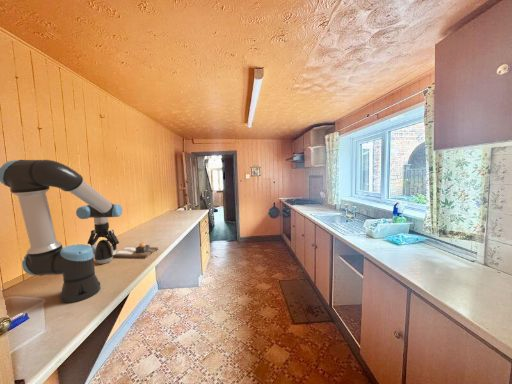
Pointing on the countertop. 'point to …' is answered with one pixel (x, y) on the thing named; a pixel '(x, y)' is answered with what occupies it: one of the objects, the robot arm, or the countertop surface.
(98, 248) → the pump dispenser
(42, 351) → the countertop surface
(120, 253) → the drawing board
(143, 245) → the button
